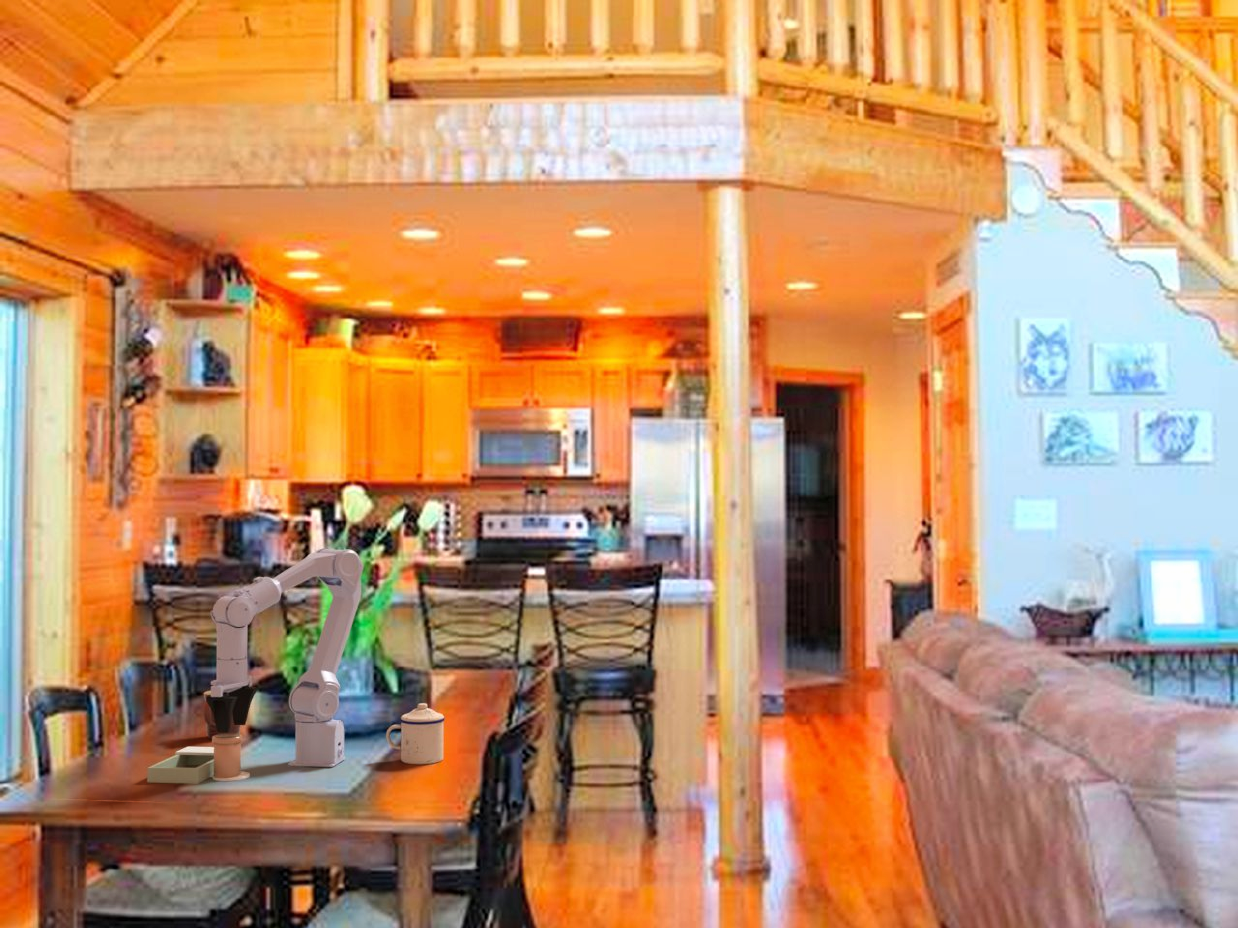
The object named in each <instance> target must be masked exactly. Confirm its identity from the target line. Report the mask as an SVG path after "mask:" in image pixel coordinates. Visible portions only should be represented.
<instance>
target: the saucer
mask: <svg viewBox="0 0 1238 928" xmlns="http://www.w3.org/2000/svg"><path fill="white" fill-rule="evenodd" d="M250 776H251V774H250V772H248V771H242V770H241V775H239V776H236V777H230V778H217V777H214V775H213V776H211V779H212V780H213V781H217V782H219V781H220V782H235V781H241V780H247V779H248V778H250Z"/></svg>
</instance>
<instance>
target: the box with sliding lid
mask: <svg viewBox="0 0 1238 928" xmlns="http://www.w3.org/2000/svg"><path fill="white" fill-rule="evenodd" d="M146 770H147V772H146V773H147V774H146V775H147V777H146V783H158V784H159V783H164V784H165V783H166V784H199V783H201V782H203V781H205V780H207V779H210V778H212V776H213V775H214V746H186V747H184V748H182V749H180V750H177V751H175V753H174V755H173V756H171V757H168V758H166V759H164V760H161V761H160V762H157V763H155V764H153V765H151V766H149V767H147V769H146Z"/></svg>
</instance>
